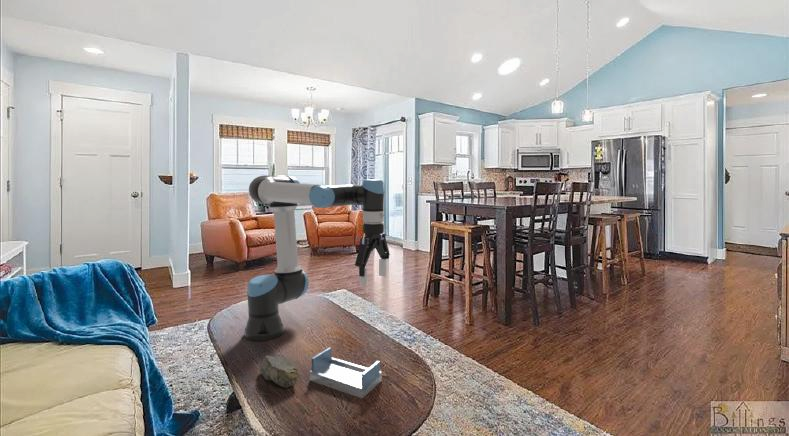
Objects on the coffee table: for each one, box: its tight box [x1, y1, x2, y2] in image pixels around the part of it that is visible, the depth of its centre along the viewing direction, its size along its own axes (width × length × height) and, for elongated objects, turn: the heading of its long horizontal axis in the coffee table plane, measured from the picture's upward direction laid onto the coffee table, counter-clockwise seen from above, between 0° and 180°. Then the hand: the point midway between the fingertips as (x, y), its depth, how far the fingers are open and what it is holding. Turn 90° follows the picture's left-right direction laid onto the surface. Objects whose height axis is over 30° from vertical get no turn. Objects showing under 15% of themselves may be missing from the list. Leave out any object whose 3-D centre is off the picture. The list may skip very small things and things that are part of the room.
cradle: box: [309, 346, 383, 399], centre depth 122 cm, size 20×11×7 cm, turn 61°
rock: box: [259, 355, 300, 388], centre depth 123 cm, size 17×7×10 cm
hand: (373, 280), depth 140 cm, fingers open, 13 cm apart
